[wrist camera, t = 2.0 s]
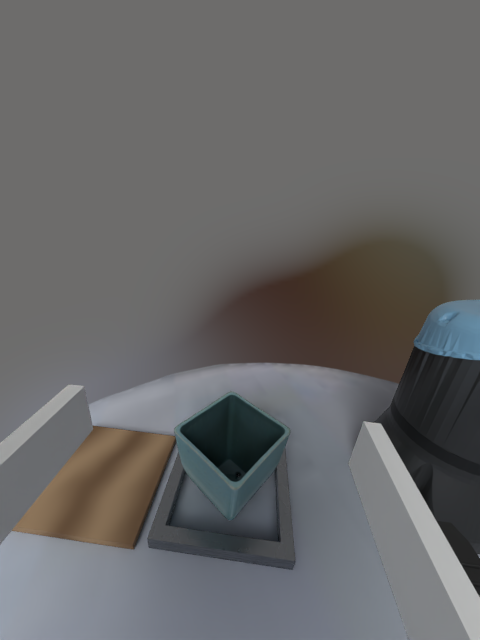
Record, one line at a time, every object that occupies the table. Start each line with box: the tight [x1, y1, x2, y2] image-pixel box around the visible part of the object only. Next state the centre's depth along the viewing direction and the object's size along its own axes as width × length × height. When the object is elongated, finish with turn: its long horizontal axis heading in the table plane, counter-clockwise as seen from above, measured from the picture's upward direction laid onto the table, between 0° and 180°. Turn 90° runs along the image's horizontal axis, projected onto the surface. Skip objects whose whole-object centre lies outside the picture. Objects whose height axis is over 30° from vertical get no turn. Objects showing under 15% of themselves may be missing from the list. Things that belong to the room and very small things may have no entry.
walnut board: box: [12, 426, 176, 549], centre depth 28 cm, size 12×12×1 cm
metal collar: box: [147, 448, 295, 570], centre depth 28 cm, size 13×13×2 cm
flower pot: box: [174, 392, 290, 520], centre depth 27 cm, size 9×9×9 cm
